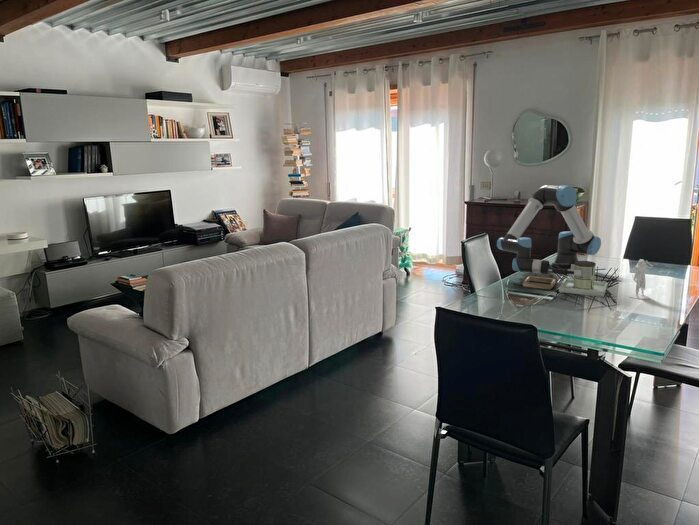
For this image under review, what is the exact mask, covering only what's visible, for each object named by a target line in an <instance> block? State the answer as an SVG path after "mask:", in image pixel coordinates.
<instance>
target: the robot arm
mask: <svg viewBox="0 0 699 525" xmlns="http://www.w3.org/2000/svg"><path fill="white" fill-rule="evenodd" d="M577 193H578V192H577V191H576V189H575V188H574V187H573V186H571V185H566V184H563V185H562V184H560V185H559V184H544V185H542V186H540V187H539V188H537V189H536V190H535V191H534V192H533V193H532V194H531V195H530V196H529V198H528V200H527V204H526V205H525V207H524V208H523V210H522V212H520V214H519V215H518V217H517V219H516V220H515V221H514V223H513V224H512V225H511V227H510V229H509V230H508V231H507V232H506V234H505V236H501V237H499V238H498V239H497V240H496V247H497V249H498V250H501V251H504V252H510V253H514V254H516V257H514V258H513V260H512V262H511V263H512V264H511V266H512V268H511V269H512V270H513V271H514V272H519V273H522V272H523V273H532V274H533V273H534V275H536V274H544V275H548V274H549V273H552V274H556V275H561V276H565V277H567V276H568V275H569V276H571V275H572V276H574V275H579V276H581V270H575V262H576V261H579V257H578V254H583V255H588V256H596V254H598V252H599V251H600V248H601V245H602V240H601V238H600V237H599V236H595V235H594V233H593V232H592V231H591V230H590V229H588V228H587V226H586V224H585V222H584V220H583V218H582V216H581V214H580V212H579V210H578V209H577V207H576V203H577V200H578V197H577V196H578V194H577ZM546 205H553V206H554V208H555V210H556V212H560V213H561V215H562V217H563V218H564V221H565V223H566V224H567V227H568V228H569V231H568V230H567V231H566V230H565V231H560V232H559V234H558V238H557V240H558V241H557V254H556V257H555V259H554V261H553V262H552V263H551V264H550V260H544V259H543V260H542V259H535V258H534V259H532V258H531V257H532V246H533V245H532V238H531V237H527V236H526V237H523V236H522V235H523V234H524V233H525V231H526V230H527V228H528V227H529V225H530V224H531V222H532V221H533V219H534V218H535V217H536V215H537V214H538V212H539V211H540V210H541V209H543V208H544V206H546Z"/></svg>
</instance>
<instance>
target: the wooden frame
mask: <svg viewBox="0 0 699 525" xmlns="http://www.w3.org/2000/svg"><path fill="white" fill-rule="evenodd" d="M556 282H557V281H556V278H550V277H549V278H548V277H538V276H532V275H531V276H530V275H529V276H528V277H526V278H525V279H524V281H523V282H522V287H525V288H535V289H542V290H543V289H544V290H552V289H553V287H554V286H555V284H556Z"/></svg>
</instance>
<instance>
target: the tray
mask: <svg viewBox="0 0 699 525" xmlns="http://www.w3.org/2000/svg"><path fill="white" fill-rule="evenodd" d="M573 286H574V278H564V279H563V280H562V281H561V284H560V285H559V287H558V293H563V294H564V293H566V294H572V295H573V294H575V295H583V296H591V297H592V296H593V297H602V298H603V297H605V295H606V292H607V290H608V282H604V281H595V280H594V289H593V290H583V289H575V288H573Z"/></svg>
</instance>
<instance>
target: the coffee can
mask: <svg viewBox="0 0 699 525" xmlns="http://www.w3.org/2000/svg"><path fill="white" fill-rule="evenodd" d="M596 265H597V264H596V262H594V261H588V260H578V261H576V262H575V270H581V276H579V275H573V279H574V286H573V288H575V289H583V290H593V289H594V281H595V275H596V274H595V273H596V271H595V270H596Z"/></svg>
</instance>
